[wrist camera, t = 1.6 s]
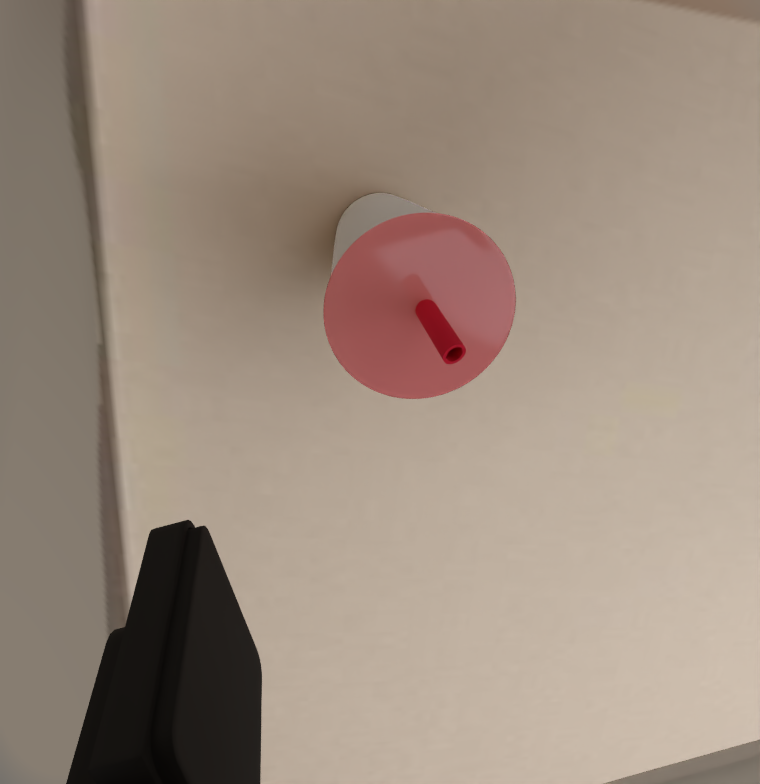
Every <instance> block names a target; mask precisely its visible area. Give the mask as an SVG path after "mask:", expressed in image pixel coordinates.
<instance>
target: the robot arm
mask: <svg viewBox="0 0 760 784" xmlns="http://www.w3.org/2000/svg"><path fill="white" fill-rule="evenodd" d="M261 697H262V671H261V664H260V659H259V655H258V652H257V649H256V646H255V644H254V641H253V639H252V636H251V634H250V632H249V629H248V627H247V624H246V622H245V619H244V617H243V614H242V612H241V609H240V607H239V604H238V602H237V599H236V597H235V595H234V592H233V590H232V587H231V585H230V582H229V580H228V577H227V575H226V572H225V570H224V567H223V565H222V562H221V560H220V557H219V555H218V553H217V550H216V548H215V545H214V543H213V540H212V538H211V535H210V533H209V531H208V529H207V528H206V526H200V527H197V528H195V526H194V525H193V523H192V522H191V521H189V520H186V521H182V522H178V523H174V524H170V525H167V526H163V527H159V528H155V529H153V530H151V532H150V534H149V537H148V541H147V545H146V549H145V552H144V556H143V560H142V564H141V568H140V572H139V576H138V580H137V583H136V587H135V591H134V595H133V599H132V603H131V607H130V610H129V614H128V618H127V622H126V626H125V627H123V628H120V629H116V630H114V631H113V632H112V633H111V634H110V636H109V638H108V640H107V643H106V646H105V649H104V653H103V656H102V660H101V664H100V667H99V670H98V674H97V677H96V681H95V684H94V688H93V691H92V695H91V699H90V702H89V706H88V709H87V713H86V716H85V720H84V723H83V727H82V730H81V734H80V737H79V741H78V744H77V748H76V751H75V755H74V758H73V762H72V765H71V769H70V772H69V776H68V780H67V783H66V784H260V762H261ZM604 784H760V740H757V741H753V742H749V743H746V744H742V745H739V746H735V747H732V748H728V749H725V750H721V751H717V752H714V753H710V754H707V755H703V756H700V757H696V758H693V759H689V760H685V761H682V762H678V763H675V764H671V765H668V766H664V767H661V768H657V769H653V770H650V771H646V772H643V773H639V774H636V775H632V776H629V777H625V778H622V779H618V780H615V781H611V782H608V783H604Z"/></svg>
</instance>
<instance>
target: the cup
mask: <svg viewBox="0 0 760 784" xmlns="http://www.w3.org/2000/svg"><path fill="white" fill-rule="evenodd" d="M515 303H516V296H515V285H514V280H513V276H512V273H511V270H510V267H509V265H508V263H507V260H506V259H505V257H504V255H503V253H502V252H501V250H500V249H499V248H498V246H497V245H496V244H495V243H494V242H493V240H492V239H491V238H490V237H489V236H487V235H486V234H485V233H484V232H483V231H481V230H480V229H479V228H477V227H476V226H474V225H472V224H470V223H468V222H466V221H464V220H462V219H459V218H456V217H453V216H450V215H445V214H439V213H435V212H433V211H431V210H429V209H426V208H424V207H422V206H420V205H417V204H415V203H413V202H411V201H408V200H406V199H403V198H400V197H398V196H395V195H392V194H388V193H373V194H369V195H366V196H363V197H361V198H359V199H357V200H356V201H355V202H353V203H352V204H351V205H350V206H349V207H348V208H347V209H346V210H345V212H344V213H343V215H342V216H341V218H340V220H339V223H338V226H337V231H336V237H335V243H334V252H333V262H332V271H331V277H330V280H329V282H328V286H327V289H326V293H325V299H324V325H325V330H326V335H327V338H328V341H329V344H330V346H331V348H332V351H333V353H334V354H335V356H336V358H337V359H338V361H339V362H340V364H341V365H342V366H343V367H344V369H345V370H346V371H347V372H348V373H349V374H350V375H351V376H352V377H354V378H355V379H356V380H357V381H359V382H360V383H362V384H363V385H365V386H366V387H368V388H370V389H372V390H374V391H376V392H379V393H382V394H385V395H388V396H392V397H397V398H406V399H420V398H429V397H434V396H438V395H442V394H445V393H448V392H451V391H453V390H455V389H457V388H459V387H461V386H463V385H465V384H467V383H468V382H470V381H471V380H473V379H474V378H475V377H477V376H478V375H479V374H480V373H482V372H483V371H484V370H485V369H486V368H487V367H488V366H489V365H490V364H491V362H492V361H493V360H494V359H495V357H496V356H497V355H498V353H499V352H500V350H501V349H502V347H503V345H504V343H505V341H506V339H507V337H508V335H509V332H510V329H511V326H512V323H513V319H514V313H515Z"/></svg>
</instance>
